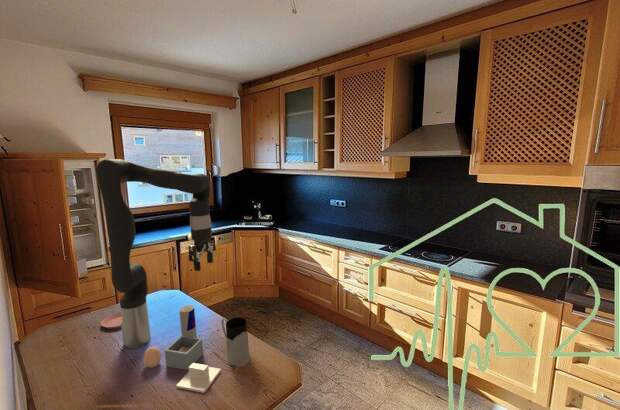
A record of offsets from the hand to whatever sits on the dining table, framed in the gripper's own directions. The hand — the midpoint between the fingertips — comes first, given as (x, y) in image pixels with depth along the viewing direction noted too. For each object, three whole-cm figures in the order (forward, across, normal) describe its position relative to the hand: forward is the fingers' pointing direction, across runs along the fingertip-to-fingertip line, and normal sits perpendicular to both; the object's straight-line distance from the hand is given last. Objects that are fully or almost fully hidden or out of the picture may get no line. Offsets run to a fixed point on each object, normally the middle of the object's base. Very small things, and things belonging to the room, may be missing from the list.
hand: (204, 266), depth 120 cm
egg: (+33, +17, -13) cm, 40 cm away
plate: (+34, -5, -51) cm, 61 cm away
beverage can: (+33, +1, -9) cm, 35 cm away
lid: (+32, +20, +8) cm, 39 cm away
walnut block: (+32, +12, -3) cm, 35 cm away
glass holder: (+33, +5, +14) cm, 36 cm away
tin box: (+33, +12, -3) cm, 35 cm away
